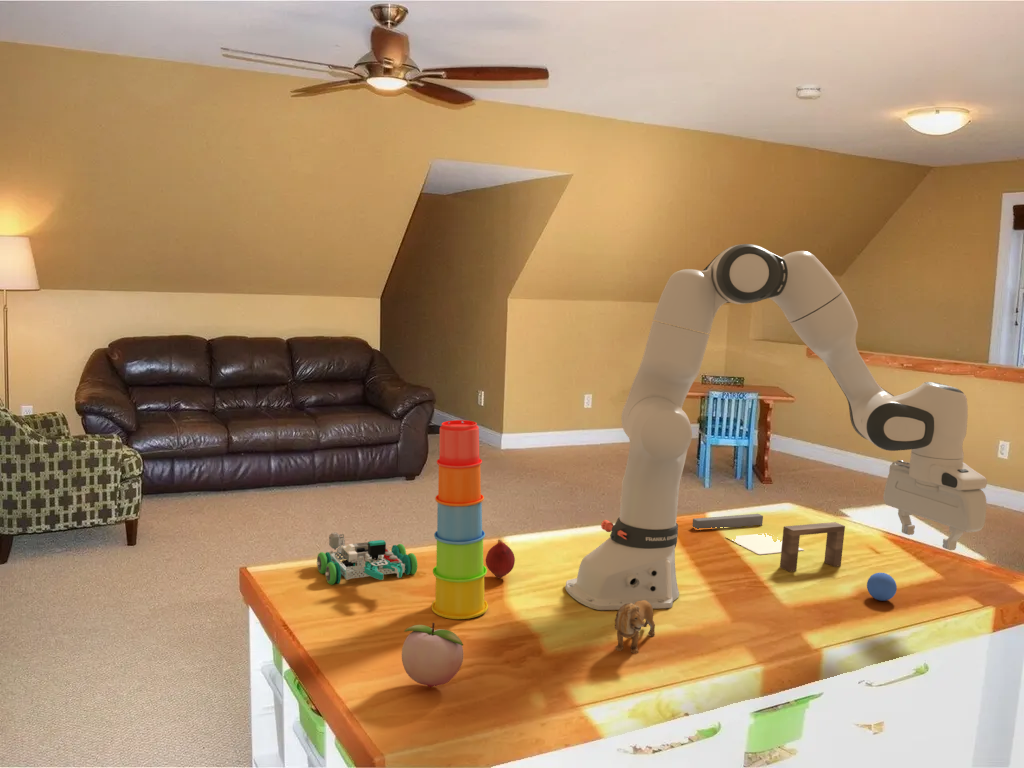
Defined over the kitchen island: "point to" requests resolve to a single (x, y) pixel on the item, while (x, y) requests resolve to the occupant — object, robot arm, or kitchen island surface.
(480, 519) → the stacking cups
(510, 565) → the onion
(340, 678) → the kitchen island surface
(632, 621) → the lion figurine
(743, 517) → the wall
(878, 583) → the ball
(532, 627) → the kitchen island surface
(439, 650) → the decorative fruit
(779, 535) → the kitchen island surface
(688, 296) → the robot arm
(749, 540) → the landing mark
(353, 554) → the robot kit
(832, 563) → the bridge
